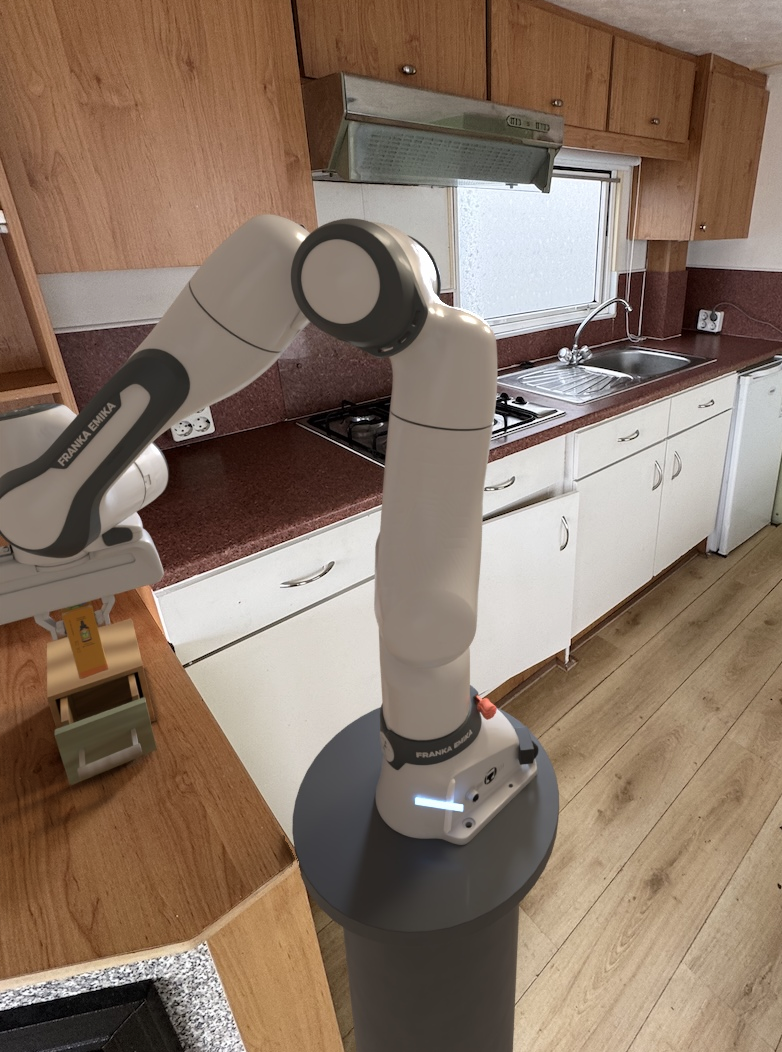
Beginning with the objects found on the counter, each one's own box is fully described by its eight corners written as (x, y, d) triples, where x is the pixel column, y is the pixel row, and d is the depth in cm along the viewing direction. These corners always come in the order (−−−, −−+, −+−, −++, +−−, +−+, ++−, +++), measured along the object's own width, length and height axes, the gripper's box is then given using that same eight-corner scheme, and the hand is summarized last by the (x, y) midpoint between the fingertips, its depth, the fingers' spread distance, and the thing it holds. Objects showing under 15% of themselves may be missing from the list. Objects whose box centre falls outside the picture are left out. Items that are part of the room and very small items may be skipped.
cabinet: (155, 720, 91) (142, 665, 87) (64, 755, 84) (46, 697, 80) (143, 669, 102) (131, 618, 98) (62, 696, 95) (46, 643, 91)
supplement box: (105, 657, 79) (90, 594, 76) (109, 670, 77) (93, 606, 74) (76, 667, 77) (58, 603, 74) (79, 681, 75) (61, 615, 72)
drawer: (162, 773, 81) (150, 723, 78) (71, 812, 75) (54, 760, 72) (145, 695, 94) (134, 650, 91) (67, 723, 89) (53, 677, 86)
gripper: (-62, 571, 62) (-25, 675, 67) (155, 524, 74) (173, 615, 78) (-54, 548, 67) (-21, 647, 72) (148, 507, 79) (166, 594, 83)
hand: (82, 630), depth 75 cm, fingers closed on supplement box, 3 cm apart
